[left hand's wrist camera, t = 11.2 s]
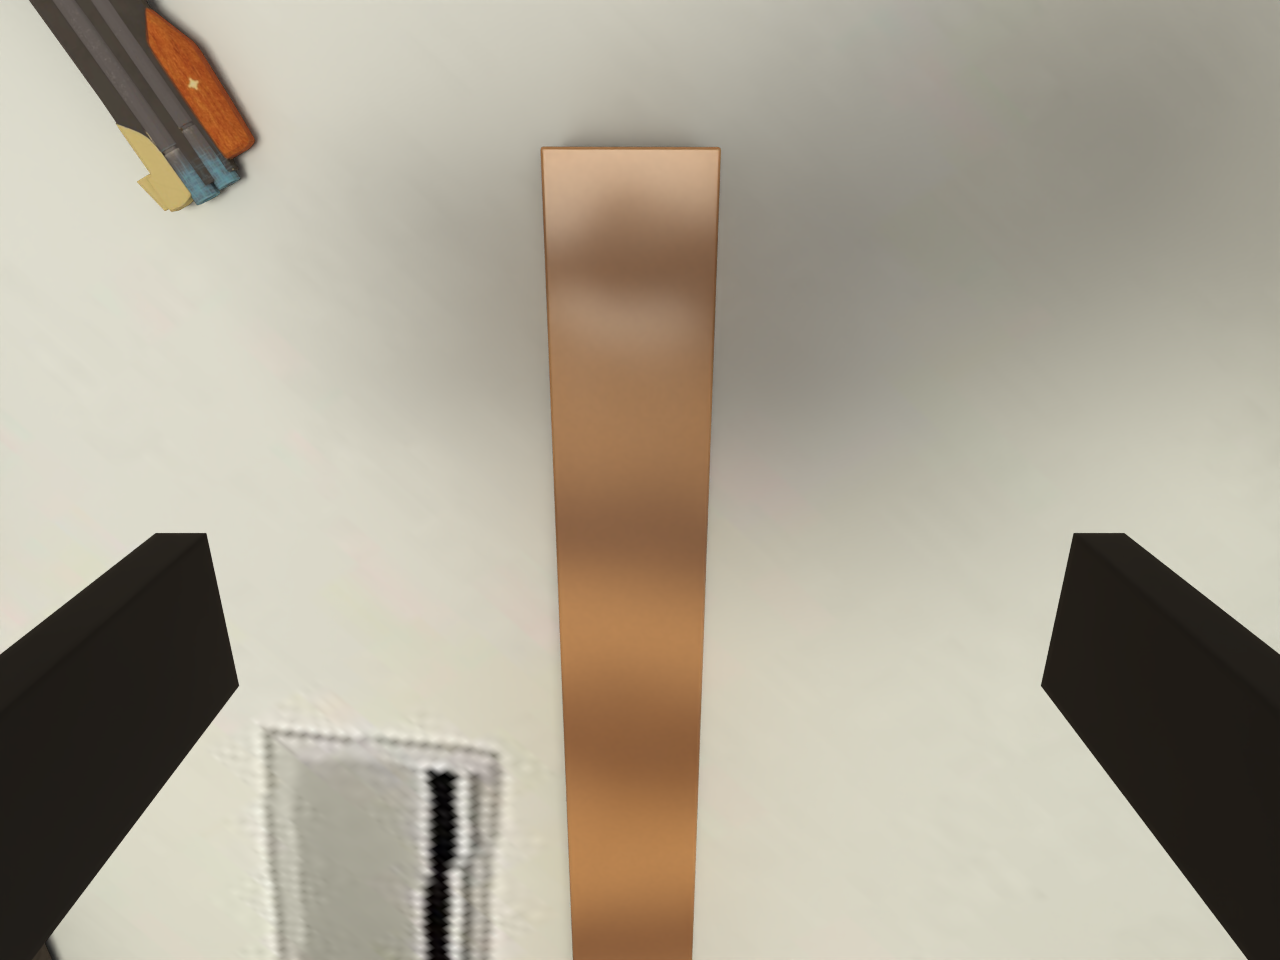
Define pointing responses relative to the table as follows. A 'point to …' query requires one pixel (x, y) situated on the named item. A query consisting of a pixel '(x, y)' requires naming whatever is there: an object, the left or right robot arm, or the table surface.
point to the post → (631, 525)
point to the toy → (42, 954)
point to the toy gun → (155, 95)
